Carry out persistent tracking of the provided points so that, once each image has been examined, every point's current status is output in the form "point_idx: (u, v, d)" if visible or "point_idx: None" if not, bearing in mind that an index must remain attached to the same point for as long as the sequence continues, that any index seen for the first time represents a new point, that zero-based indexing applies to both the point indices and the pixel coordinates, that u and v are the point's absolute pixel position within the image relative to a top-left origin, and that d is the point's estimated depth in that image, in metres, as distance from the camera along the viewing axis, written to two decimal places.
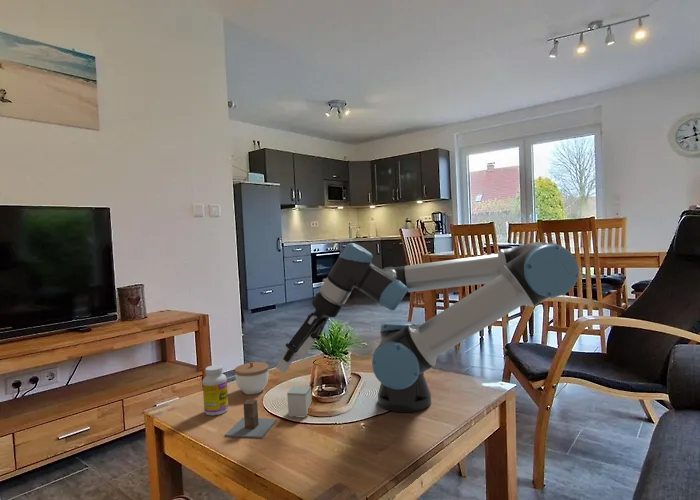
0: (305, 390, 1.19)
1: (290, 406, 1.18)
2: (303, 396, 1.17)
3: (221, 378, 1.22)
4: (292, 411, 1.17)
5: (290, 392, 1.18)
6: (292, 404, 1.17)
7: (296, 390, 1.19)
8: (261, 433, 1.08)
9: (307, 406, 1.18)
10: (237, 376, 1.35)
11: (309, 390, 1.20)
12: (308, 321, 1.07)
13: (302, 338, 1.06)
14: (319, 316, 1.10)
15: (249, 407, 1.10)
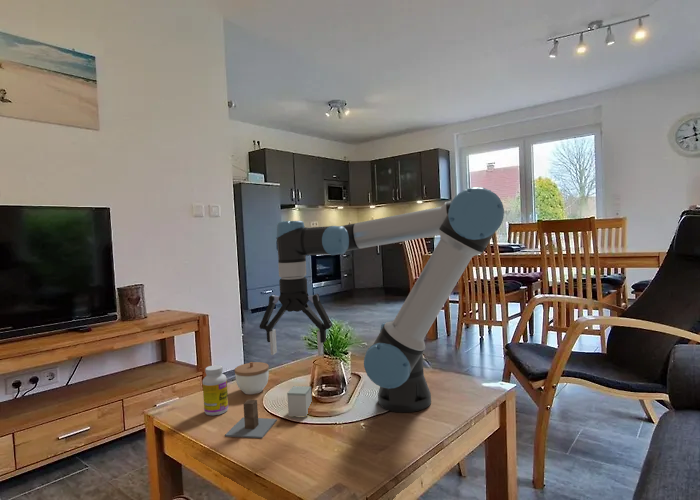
0: (305, 390, 1.19)
1: (290, 406, 1.18)
2: (303, 396, 1.17)
3: (221, 378, 1.22)
4: (292, 411, 1.17)
5: (290, 392, 1.18)
6: (292, 404, 1.17)
7: (296, 390, 1.19)
8: (261, 433, 1.08)
9: (307, 406, 1.18)
10: (237, 376, 1.35)
11: (309, 390, 1.20)
12: None
13: None
14: (280, 295, 1.18)
15: (249, 407, 1.10)
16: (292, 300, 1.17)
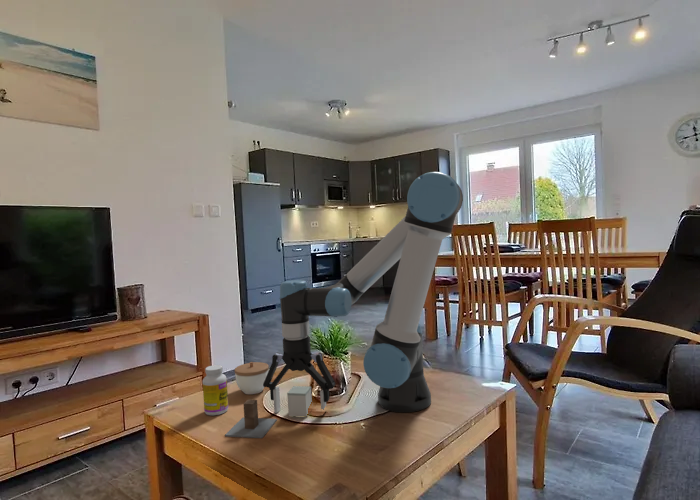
0: (305, 390, 1.19)
1: (290, 406, 1.18)
2: (303, 396, 1.17)
3: (221, 378, 1.22)
4: (292, 411, 1.17)
5: (290, 392, 1.18)
6: (292, 404, 1.17)
7: (296, 390, 1.19)
8: (261, 433, 1.08)
9: (307, 406, 1.18)
10: (237, 376, 1.35)
11: (309, 390, 1.20)
12: None
13: (268, 373, 1.20)
14: (283, 354, 1.19)
15: (249, 407, 1.10)
16: (295, 359, 1.18)
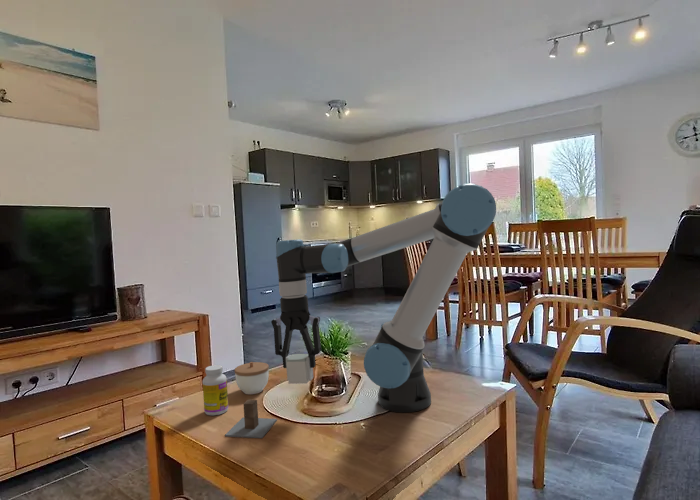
0: (304, 356, 1.18)
1: (290, 373, 1.17)
2: (303, 362, 1.16)
3: (221, 378, 1.22)
4: (292, 378, 1.17)
5: (289, 359, 1.17)
6: (292, 370, 1.17)
7: (295, 357, 1.18)
8: (261, 433, 1.08)
9: None
10: (237, 376, 1.35)
11: None
12: None
13: None
14: None
15: (249, 407, 1.10)
16: (293, 319, 1.17)
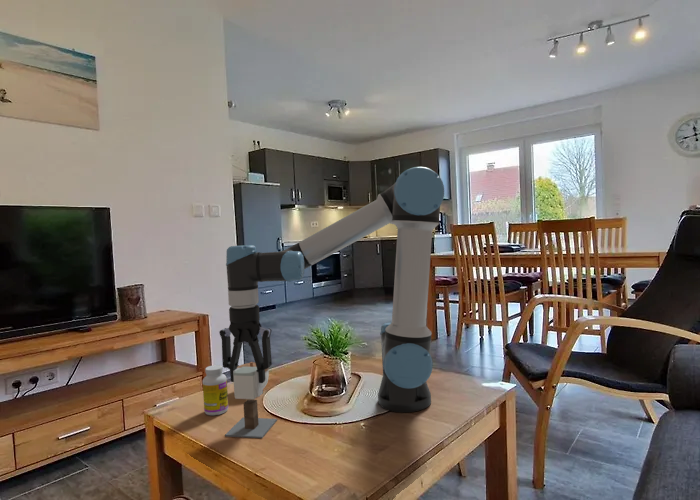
0: (253, 370, 1.11)
1: (236, 387, 1.09)
2: (250, 377, 1.08)
3: (221, 378, 1.22)
4: (239, 392, 1.09)
5: (237, 372, 1.10)
6: (239, 385, 1.09)
7: (244, 370, 1.11)
8: (261, 433, 1.08)
9: (255, 387, 1.10)
10: None
11: None
12: None
13: None
14: None
15: (249, 407, 1.10)
16: (243, 330, 1.10)
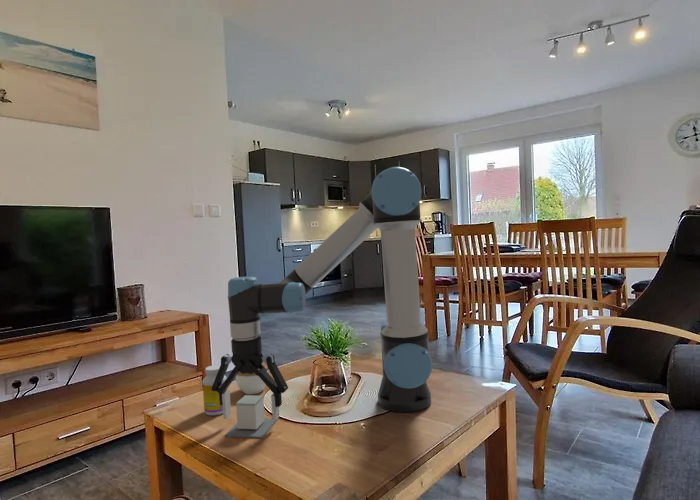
0: (256, 400, 1.11)
1: (239, 417, 1.10)
2: (253, 407, 1.09)
3: None
4: (241, 422, 1.10)
5: (239, 402, 1.10)
6: (241, 415, 1.10)
7: (246, 400, 1.11)
8: (261, 433, 1.08)
9: (257, 417, 1.10)
10: (237, 376, 1.35)
11: (260, 400, 1.12)
12: None
13: None
14: None
15: None
16: (245, 361, 1.10)
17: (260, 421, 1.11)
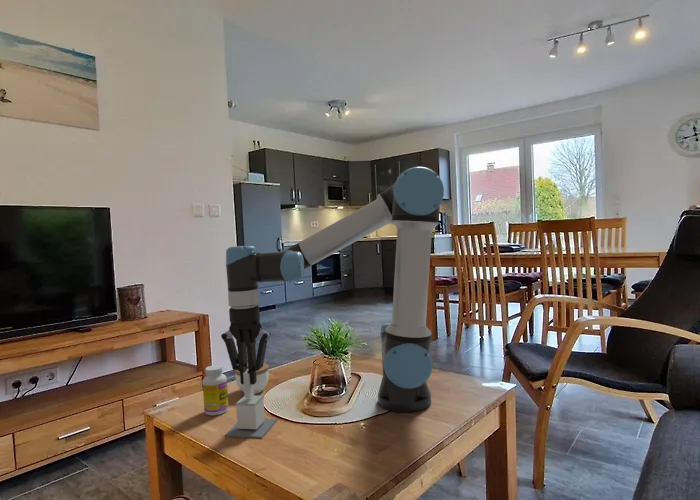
0: (256, 400, 1.11)
1: (239, 417, 1.10)
2: (253, 407, 1.09)
3: (221, 378, 1.22)
4: (241, 422, 1.10)
5: (239, 402, 1.10)
6: (241, 415, 1.10)
7: (246, 400, 1.11)
8: (261, 433, 1.08)
9: (257, 417, 1.10)
10: (237, 376, 1.35)
11: (260, 400, 1.12)
12: None
13: None
14: None
15: None
16: (243, 330, 1.10)
17: (260, 421, 1.11)
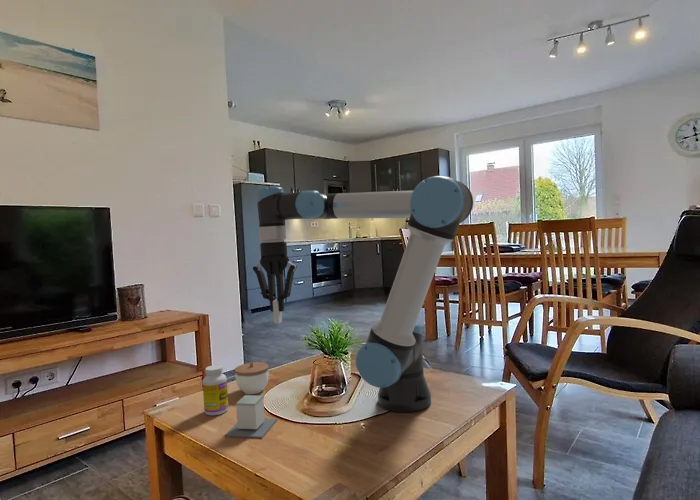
0: (256, 400, 1.11)
1: (239, 417, 1.10)
2: (253, 407, 1.09)
3: (221, 378, 1.22)
4: (241, 422, 1.10)
5: (239, 402, 1.10)
6: (241, 415, 1.10)
7: (246, 400, 1.11)
8: (261, 433, 1.08)
9: (257, 417, 1.10)
10: (237, 376, 1.35)
11: (260, 400, 1.12)
12: None
13: None
14: None
15: None
16: (272, 263, 1.23)
17: (260, 421, 1.11)
